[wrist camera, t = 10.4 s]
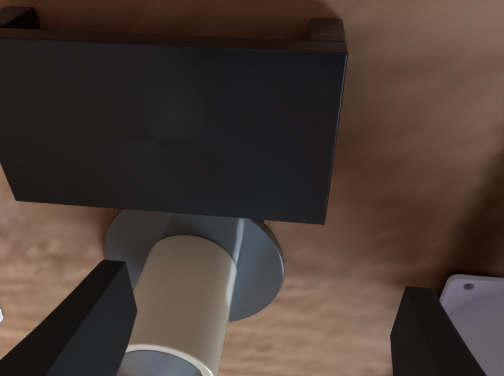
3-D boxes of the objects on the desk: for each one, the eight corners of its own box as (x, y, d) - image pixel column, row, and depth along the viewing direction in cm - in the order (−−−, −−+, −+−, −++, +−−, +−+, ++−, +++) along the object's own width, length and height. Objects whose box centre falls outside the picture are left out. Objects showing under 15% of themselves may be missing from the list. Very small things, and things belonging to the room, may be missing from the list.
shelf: (342, 18, 16) (348, 53, 13) (323, 174, 20) (324, 225, 18) (5, 5, 17) (-53, 35, 15) (53, 156, 22) (15, 201, 19)
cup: (236, 238, 23) (212, 351, 18) (237, 300, 26) (218, 413, 21) (141, 230, 23) (92, 339, 18) (153, 293, 26) (114, 401, 21)
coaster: (289, 197, 22) (288, 204, 21) (280, 324, 28) (280, 331, 27) (90, 183, 22) (86, 189, 22) (124, 308, 28) (121, 315, 28)
